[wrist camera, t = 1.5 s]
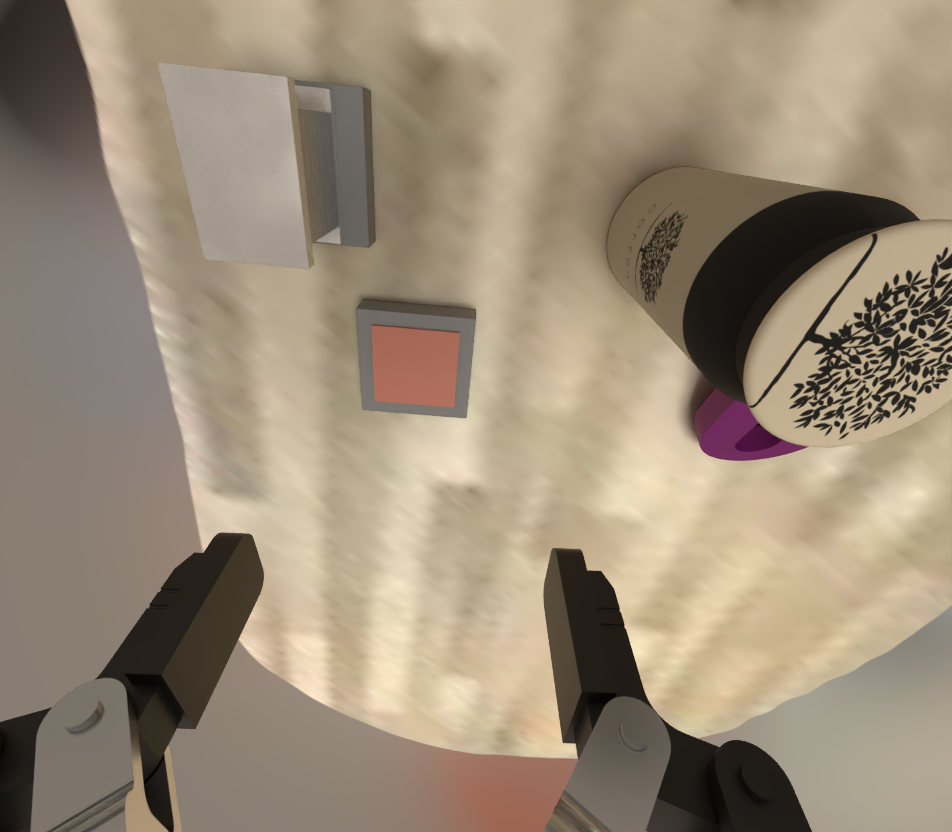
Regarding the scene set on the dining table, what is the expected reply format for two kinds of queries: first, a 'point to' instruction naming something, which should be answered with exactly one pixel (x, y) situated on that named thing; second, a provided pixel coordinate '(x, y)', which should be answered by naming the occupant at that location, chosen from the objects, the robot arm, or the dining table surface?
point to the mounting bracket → (735, 431)
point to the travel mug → (795, 298)
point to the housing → (256, 163)
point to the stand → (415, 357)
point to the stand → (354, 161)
